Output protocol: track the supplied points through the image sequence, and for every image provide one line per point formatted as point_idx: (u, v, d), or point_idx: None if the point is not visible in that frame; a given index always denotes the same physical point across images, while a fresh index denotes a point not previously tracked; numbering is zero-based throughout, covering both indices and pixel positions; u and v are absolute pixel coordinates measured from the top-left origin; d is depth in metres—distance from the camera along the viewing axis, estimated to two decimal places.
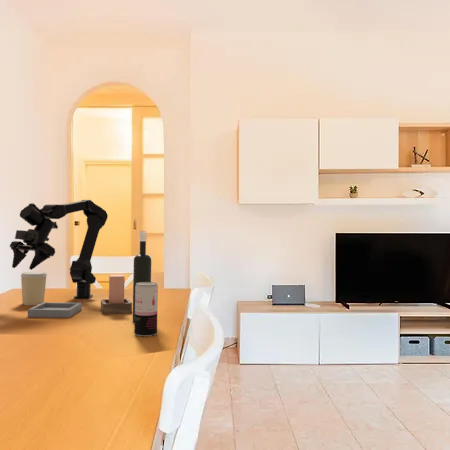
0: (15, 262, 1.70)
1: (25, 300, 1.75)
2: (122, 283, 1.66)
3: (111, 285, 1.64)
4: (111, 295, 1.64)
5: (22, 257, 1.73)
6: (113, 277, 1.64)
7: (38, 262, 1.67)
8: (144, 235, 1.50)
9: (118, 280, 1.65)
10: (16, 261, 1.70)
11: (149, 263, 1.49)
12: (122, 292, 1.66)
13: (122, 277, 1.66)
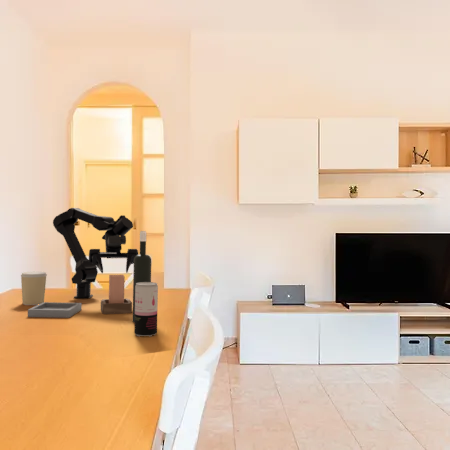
0: (102, 267, 1.74)
1: (25, 300, 1.75)
2: (122, 283, 1.66)
3: (111, 285, 1.64)
4: (111, 295, 1.64)
5: None
6: (113, 277, 1.64)
7: (129, 266, 1.79)
8: (144, 235, 1.50)
9: (118, 280, 1.65)
10: None
11: (149, 263, 1.49)
12: (122, 292, 1.66)
13: (122, 277, 1.66)
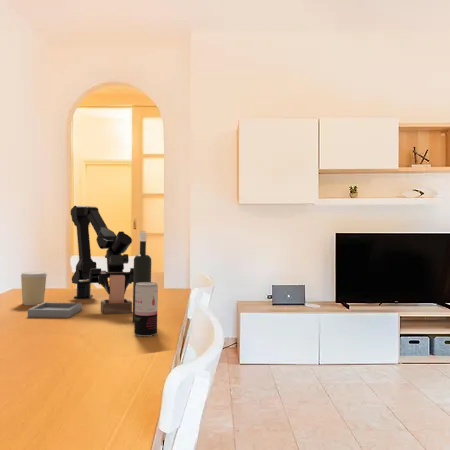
0: (109, 288, 1.66)
1: (25, 300, 1.75)
2: (122, 283, 1.66)
3: (111, 285, 1.64)
4: (111, 295, 1.64)
5: None
6: (113, 277, 1.65)
7: (126, 287, 1.70)
8: (144, 235, 1.50)
9: (118, 280, 1.65)
10: (108, 287, 1.67)
11: (149, 263, 1.49)
12: (122, 292, 1.66)
13: (122, 277, 1.66)
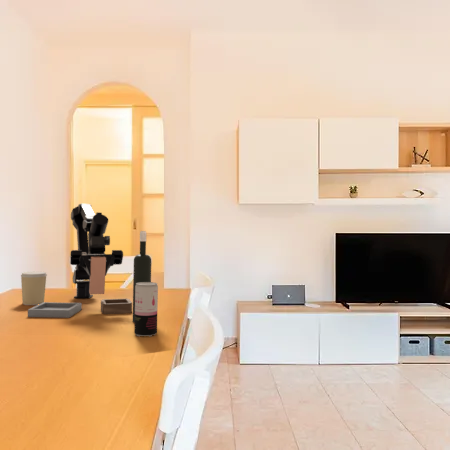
0: None
1: (25, 300, 1.75)
2: (103, 265, 1.63)
3: (92, 266, 1.62)
4: (92, 277, 1.62)
5: None
6: (94, 258, 1.62)
7: None
8: (144, 235, 1.50)
9: (99, 262, 1.63)
10: (89, 269, 1.65)
11: (149, 263, 1.49)
12: (103, 274, 1.63)
13: (103, 259, 1.63)
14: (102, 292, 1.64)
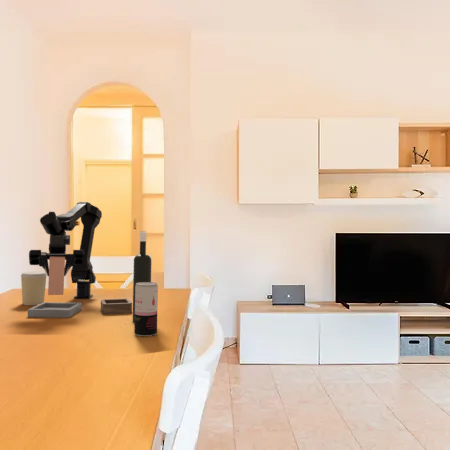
0: None
1: (25, 300, 1.75)
2: (62, 265, 1.59)
3: (50, 266, 1.58)
4: (50, 277, 1.58)
5: None
6: (52, 258, 1.58)
7: (68, 269, 1.64)
8: (144, 235, 1.50)
9: (58, 262, 1.59)
10: None
11: (149, 263, 1.49)
12: (62, 274, 1.59)
13: (62, 259, 1.59)
14: (61, 293, 1.59)
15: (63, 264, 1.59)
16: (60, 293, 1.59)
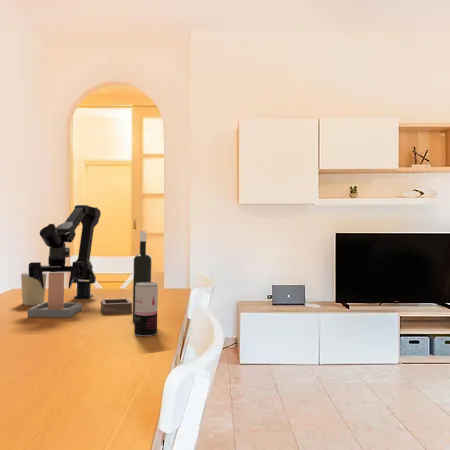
0: None
1: (25, 300, 1.75)
2: (61, 281, 1.59)
3: (49, 283, 1.58)
4: (49, 294, 1.58)
5: None
6: (51, 275, 1.58)
7: (72, 281, 1.64)
8: (144, 235, 1.50)
9: (57, 279, 1.58)
10: (42, 282, 1.60)
11: (149, 263, 1.49)
12: (61, 291, 1.59)
13: (61, 275, 1.59)
14: None
15: (62, 281, 1.59)
16: None
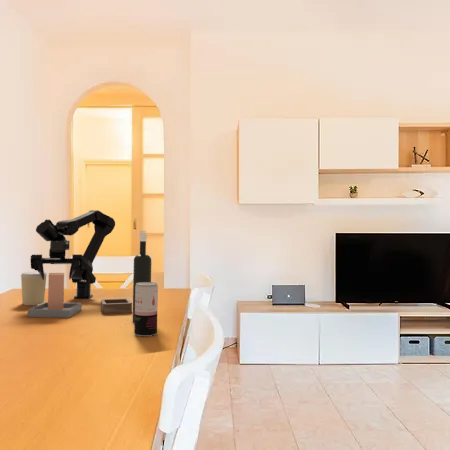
0: (43, 273, 1.68)
1: (25, 300, 1.75)
2: (61, 281, 1.59)
3: (49, 283, 1.58)
4: (49, 294, 1.58)
5: None
6: (51, 275, 1.58)
7: (73, 273, 1.73)
8: (144, 235, 1.50)
9: (57, 279, 1.59)
10: None
11: (149, 263, 1.49)
12: (61, 291, 1.59)
13: (61, 275, 1.59)
14: None
15: (62, 281, 1.59)
16: None
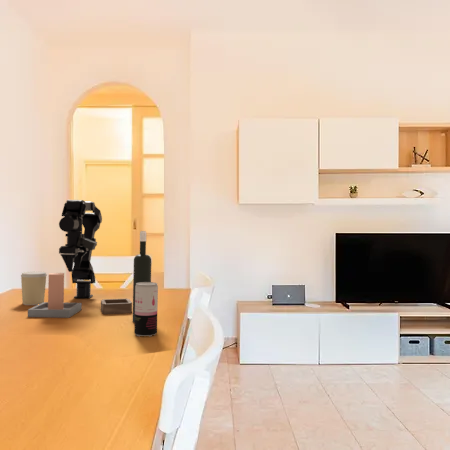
0: None
1: (25, 300, 1.75)
2: (61, 281, 1.59)
3: (49, 283, 1.58)
4: (49, 294, 1.58)
5: None
6: (51, 275, 1.58)
7: None
8: (144, 235, 1.50)
9: (57, 279, 1.59)
10: None
11: (149, 263, 1.49)
12: (61, 291, 1.59)
13: (61, 275, 1.59)
14: None
15: (62, 281, 1.59)
16: None
